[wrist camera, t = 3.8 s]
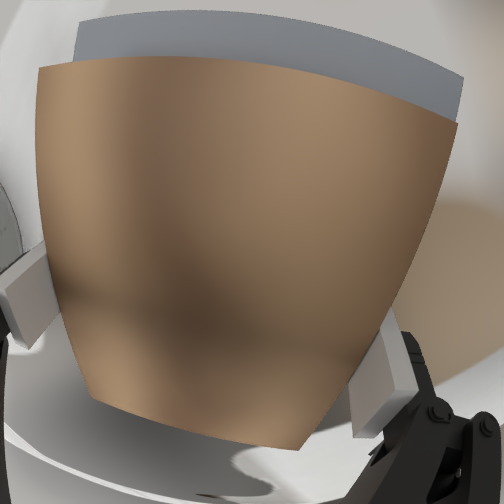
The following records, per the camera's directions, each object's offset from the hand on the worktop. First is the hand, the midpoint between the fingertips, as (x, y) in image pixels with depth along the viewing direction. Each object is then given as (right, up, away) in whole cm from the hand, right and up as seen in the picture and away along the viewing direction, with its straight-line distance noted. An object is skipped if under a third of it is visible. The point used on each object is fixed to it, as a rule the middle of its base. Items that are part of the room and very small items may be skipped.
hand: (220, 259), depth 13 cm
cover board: (0, 0, 0) cm, 0 cm away
